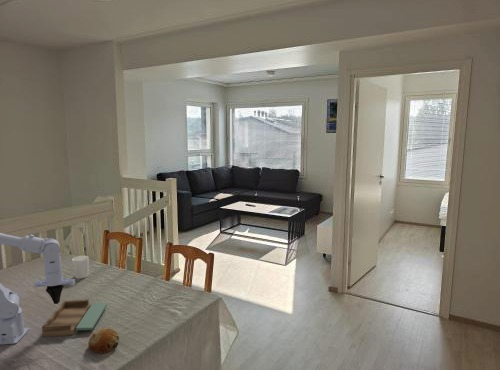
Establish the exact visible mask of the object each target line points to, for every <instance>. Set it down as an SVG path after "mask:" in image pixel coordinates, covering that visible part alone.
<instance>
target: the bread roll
mask: <svg viewBox="0 0 500 370" xmlns="http://www.w3.org/2000/svg"><path fill="white" fill-rule="evenodd" d="M119 340H120V336H119V334H118V333H117V331H116V330H115V329H114V328H112V327H103V328H99V329H98V330H95V331H94V332H93V333H92V334H91V336H90V337H89V340H88V343H87V345H88V349H89V351H90V352H91V353H94V354H96V355H100V354H108V353H109V352H110V353H111V352H112V351H113V350H115V349H116V348H117V347H118V346H119Z"/></svg>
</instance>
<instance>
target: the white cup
mask: <svg viewBox="0 0 500 370" xmlns="http://www.w3.org/2000/svg"><path fill="white" fill-rule="evenodd" d="M89 258H90V257H89V256H88V255H78V256H74V257H73V258H72V259H71V261H72V262H71V263H72V269H73V273H74V279H79V280H80V279H85V278H87V277H89V275H90V274H89V272H90V271H89V270H90V261H89V260H90V259H89Z"/></svg>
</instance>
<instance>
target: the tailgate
mask: <svg viewBox="0 0 500 370" xmlns="http://www.w3.org/2000/svg"><path fill="white" fill-rule="evenodd" d="M107 306H108V303H107V302H106V303H105V302H92V303H91V306H90V308H89V309H88V311H87V312H86V314H85V315H84V317H83V318H82V320H81V321H80V323H79V324H78V325H77V327H76V330H77V331H93V330H94V328H95V326H96V325H97V323H98V321H99V320H100V318H101V316H102V315H103V313H104V311H105V310H106V308H107Z"/></svg>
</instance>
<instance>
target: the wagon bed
mask: <svg viewBox="0 0 500 370" xmlns="http://www.w3.org/2000/svg"><path fill="white" fill-rule="evenodd" d="M89 301H90V300H89V299H76V300H64V301H63V302H62V303H61V304H60V305H59V306H58V307H57V309H56V310H55V311H54V312H53V314H52V315H50V316H49V318H48V319H47V321H46V322H45V323H44V324H43V325H42V326H41V331H42V337H43V338H44V337H46V338H47V337H61V336H62V337H63V336H75V333H76V332H77V331H78V330H76V327H77V325H78V324H79V323H80V321H81V320H82V318H83V317H84V315H85V314H86V312H87V311H88V309H89V308H90V306H91V305H92V303H89Z"/></svg>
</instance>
